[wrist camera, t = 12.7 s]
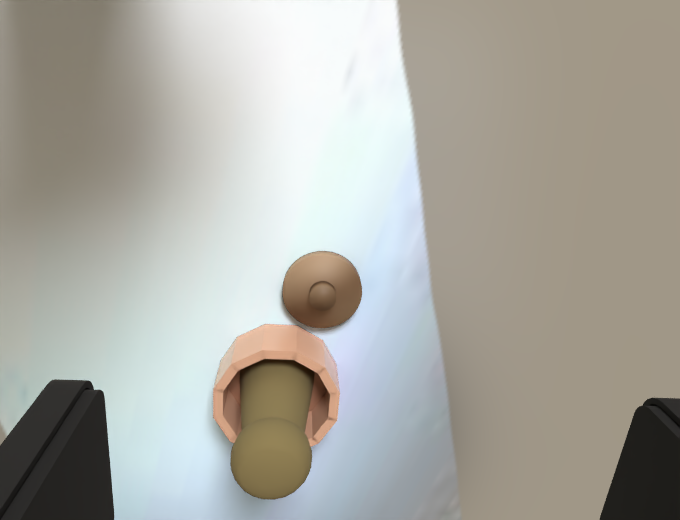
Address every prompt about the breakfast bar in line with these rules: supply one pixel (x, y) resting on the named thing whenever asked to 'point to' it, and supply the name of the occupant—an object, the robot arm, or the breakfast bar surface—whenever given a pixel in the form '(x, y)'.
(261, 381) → the cork
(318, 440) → the pink faceted round bowl
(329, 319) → the lid
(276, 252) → the breakfast bar surface
